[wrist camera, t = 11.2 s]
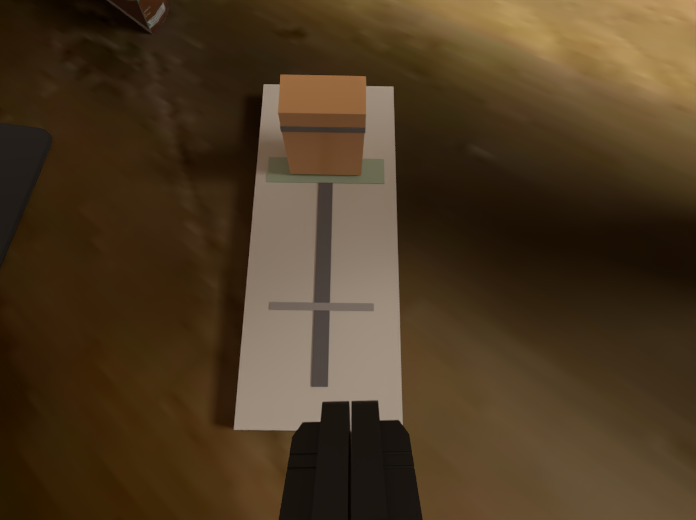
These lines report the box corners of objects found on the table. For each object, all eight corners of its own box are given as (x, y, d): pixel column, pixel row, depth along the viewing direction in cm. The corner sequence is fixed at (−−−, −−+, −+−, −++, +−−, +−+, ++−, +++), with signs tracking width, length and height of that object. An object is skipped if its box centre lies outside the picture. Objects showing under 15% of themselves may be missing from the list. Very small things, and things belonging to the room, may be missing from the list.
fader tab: (361, 175, 39) (366, 114, 31) (289, 174, 39) (277, 113, 31) (361, 142, 40) (366, 75, 32) (291, 141, 40) (280, 74, 32)
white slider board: (399, 430, 35) (403, 431, 33) (239, 429, 34) (233, 429, 32) (391, 100, 44) (393, 85, 42) (267, 98, 44) (263, 83, 42)
